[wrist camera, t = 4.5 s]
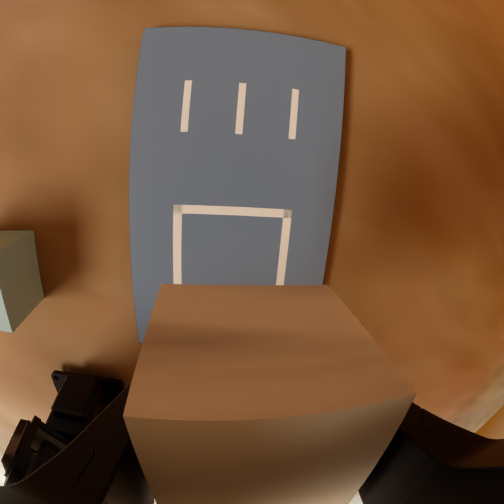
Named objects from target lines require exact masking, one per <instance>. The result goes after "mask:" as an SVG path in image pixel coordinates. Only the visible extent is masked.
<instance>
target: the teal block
mask: <svg viewBox="0 0 504 504" xmlns="http://www.w3.org/2000/svg"><path fill="white" fill-rule="evenodd" d="M43 299H44V294H43V289H42V284H41V278H40V272H39V266H38V260H37V253H36V245H35V237H34V231H30V230H6V231H0V330H1V331H6V332H11V333H13V332H14V330H15V329H16V328H17V327H18V326H19V325H20V324H21V322H22V321H23V320H24V319H25V318H26V317H27V316H28V315H29V314H30V312H31V311H32V310H33V309H34V308H35V307H36V306H37V305H38V304H39V303H40V302H41V301H42V300H43Z"/></svg>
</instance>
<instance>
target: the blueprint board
mask: <svg viewBox="0 0 504 504" xmlns="http://www.w3.org/2000/svg"><path fill="white" fill-rule="evenodd" d="M345 60H346V47H343V46H339V45H335V44H330V43H326V42H322V41H317V40H312V39H307V38H302V37H296V36H291V35H284V34H278V33H271V32H263V31H255V30H245V29H233V28H217V27H156V28H144V31H143V37H142V43H141V49H140V56H139V62H138V70H137V78H136V86H135V96H134V106H133V118H132V131H131V149H130V180H129V217H130V248H131V267H132V281H133V293H134V304H135V314H136V323H137V331H138V339H139V343H143V340H144V336H145V333H146V330H147V326H148V323H149V320H150V317H151V314H152V310H153V307H154V304H155V301H156V298H157V295H158V292H159V289H160V286H161V284H190V285H322V284H323V278H324V272H325V266H326V259H327V253H328V246H329V240H330V233H331V225H332V218H333V210H334V202H335V194H336V185H337V176H338V166H339V156H340V145H341V133H342V120H343V105H344V86H345Z"/></svg>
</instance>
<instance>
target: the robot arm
mask: <svg viewBox="0 0 504 504" xmlns="http://www.w3.org/2000/svg"><path fill="white" fill-rule="evenodd" d="M51 377H52V380H53V382H54V385H55V388H56V390H57V393H58V394H57V396H56V399H55V401H54V403H53V405H52V407H51V409H52V410H51V412H50V415H49V417H48V419H47V421H46V424H45V423H43V422H42V421H41V419H40V418H38V417H37V416H34V417H33V419H32V421H31V422H30V421H29V420H28V421H27V420H23V419H20V421H19V423H18V425H17V427H16V429H15V432H14V434H13V436H12V438H11V440H10V442H9V444H8V446H7V449H6V451H5V453H4V455H3V458H2V460H1V461H2V464H3V466H4V469H5V474H4V476H6V480H5V483H4V486H0V504H153V503H154V496H153V494H152V492H151V489H150V487H149V485H148V482H147V480H146V478H145V475H144V473H143V470H142V468H141V465H140V463H139V460H138V458H137V455H136V453H135V450H134V447H133V444H132V442H131V439H130V436H129V433H128V430H127V427H126V424H125V421H124V418H123V414H124V409H125V405H126V401H127V397H128V394H129V390H130V386H131V383H130V384H129V385H128V386H127V387H126V388H125V384H124V382H122V381H121V380H118V379H111V378H103V377H95V376H88V375H81V374H74V373H68V372H62V371H57V370H55V371H53V373H52V375H51ZM117 385H119V386H117ZM358 491H359V494H360V497H361V499H362V502H363V504H504V439H489V438H485V437H482V436H480V435H478V434H475V433H473V432H470V431H468V430H466V429H463V428H461V427H459V426H456V425H454V424H452V423H450V422H448V421H445V420H443V419H441V418H439V417H438V416H436V415H434V414H432V413H430V412H428V411H427V410H425V409H423V408H422V409H421V407H419V406H418V405H416V404H414V403H413V402H412V403H411V405H410V407H409V409H408V411H407V413H406V415H405V417H404V419H403V420H402V422H401V424H400V426H399V428H398V429H397V431H396V433H395V435H394V436H393V438H392V440H391V442H390V443H389V445H388V447H387V448H386V450H385V451H384V453H383V455H382V456H381V458H380V459H379V461H378V462H377V464H376V466H375V467H374V469H373V470H372V472H371V473H370V474H369V476H368V477H367V479H366V480H365V482H364V483H363V484H362V486H361V487H360V489H359V490H358Z"/></svg>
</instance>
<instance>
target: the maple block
mask: <svg viewBox="0 0 504 504" xmlns="http://www.w3.org/2000/svg"><path fill="white" fill-rule="evenodd" d="M415 395H416V392H415V391H414V389H413V388H412V387H411V386H410V384H409V383H408V382H407V380H406V379H405V378H404V377H403V375H402V374H401V373H400V372H399V370H398V369H397V368H396V366H395V365H394V364H393V363H392V361H391V360H390V359H389V358H388V356H387V355H386V354H385V353H384V351H383V350H382V349H381V348H380V346H379V345H378V344H377V343H376V342H375V340H374V339H373V338H372V337H371V335H370V334H369V333H368V332H367V330H366V329H365V328H364V327H363V326H362V324H361V323H360V322H359V321H358V320H357V318H356V317H355V316H354V315H353V313H352V312H351V311H350V310H349V309H348V307H347V306H346V305H345V304H344V303H343V301H342V300H341V299H340V298H339V297H338V296H337V294H336V293H335V292H334V291H333V290H332V288H331V287H330V286H329V285H190V284H161V286H160V289H159V292H158V295H157V298H156V301H155V304H154V307H153V310H152V314H151V317H150V320H149V323H148V326H147V330H146V333H145V336H144V340H143V343H142V346H141V350H140V353H139V357H138V360H137V364H136V367H135V371H134V375H133V378H132V382H131V386H130V390H129V394H128V397H127V401H126V405H125V409H124V414H123V418H124V421H125V424H126V427H127V430H128V433H129V436H130V439H131V442H132V444H133V447H134V450H135V453H136V455H137V458H138V460H139V463H140V465H141V468H142V470H143V473H144V475H145V478H146V480H147V482H148V485H149V487H150V489H151V492H152V494H153V496H154V498H155V500H156V502H157V504H348V503H349V502H350V501H351V499H352V498H353V497H354V495H355V494H356V493H357V491H358V490H359V489H360V487H361V486H362V484H363V483H364V482H365V480H366V479H367V477H368V476H369V474H370V473H371V472H372V470H373V469H374V467H375V466H376V464H377V462H378V461H379V459H380V458H381V456H382V455H383V453H384V451H385V450H386V448H387V447H388V445H389V443H390V442H391V440H392V438H393V436H394V435H395V433H396V431H397V429H398V428H399V426H400V424H401V422H402V420H403V419H404V417H405V415H406V413H407V411H408V409H409V407H410V405H411V403H412V401H413V399H414V397H415Z"/></svg>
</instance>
